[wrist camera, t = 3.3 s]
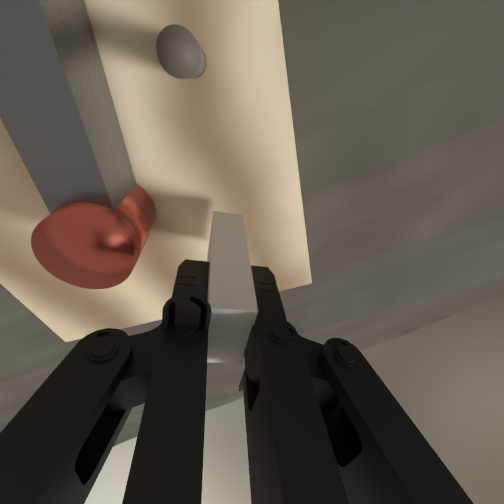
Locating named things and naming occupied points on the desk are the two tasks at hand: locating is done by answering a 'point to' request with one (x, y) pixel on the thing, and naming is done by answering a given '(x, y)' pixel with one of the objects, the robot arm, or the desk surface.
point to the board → (176, 156)
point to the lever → (70, 143)
